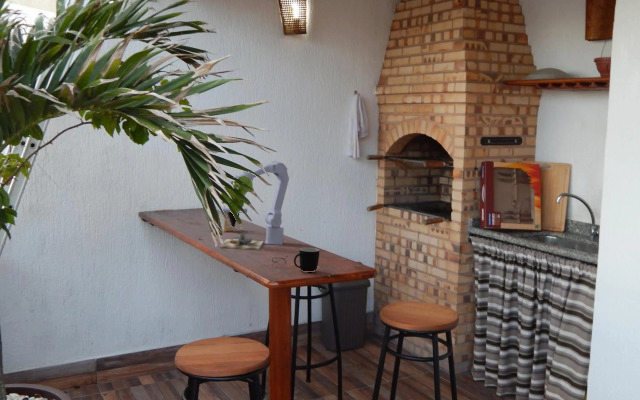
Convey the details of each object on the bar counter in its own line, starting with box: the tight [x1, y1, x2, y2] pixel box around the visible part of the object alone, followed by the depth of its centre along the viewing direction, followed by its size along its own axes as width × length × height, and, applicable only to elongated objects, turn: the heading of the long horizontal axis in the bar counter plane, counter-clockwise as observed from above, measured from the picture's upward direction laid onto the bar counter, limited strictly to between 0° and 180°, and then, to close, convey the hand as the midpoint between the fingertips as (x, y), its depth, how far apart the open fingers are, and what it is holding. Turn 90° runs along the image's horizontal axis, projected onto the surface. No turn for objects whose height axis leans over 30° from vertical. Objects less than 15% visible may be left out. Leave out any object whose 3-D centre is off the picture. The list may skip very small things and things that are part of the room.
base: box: [219, 232, 264, 251], centre depth 362 cm, size 20×20×6 cm
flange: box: [230, 236, 253, 244], centre depth 360 cm, size 14×10×1 cm
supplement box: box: [218, 210, 235, 233], centre depth 402 cm, size 8×5×13 cm, turn 143°
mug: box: [293, 247, 320, 271], centre depth 308 cm, size 12×9×10 cm
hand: (232, 226), depth 363 cm, fingers closed
